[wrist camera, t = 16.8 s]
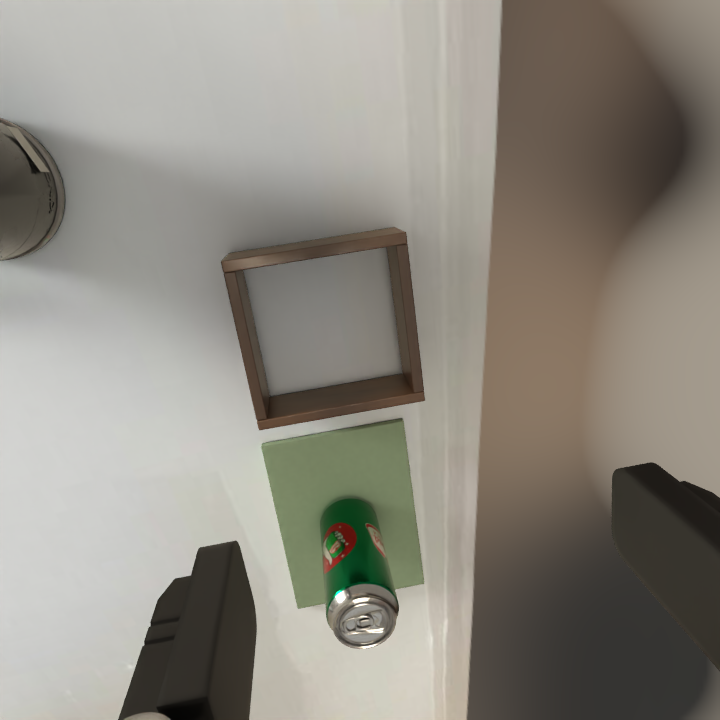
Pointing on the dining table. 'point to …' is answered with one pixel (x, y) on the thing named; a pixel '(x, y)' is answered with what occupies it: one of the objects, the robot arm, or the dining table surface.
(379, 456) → the mat
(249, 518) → the dining table surface
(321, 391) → the crate
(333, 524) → the soda can
